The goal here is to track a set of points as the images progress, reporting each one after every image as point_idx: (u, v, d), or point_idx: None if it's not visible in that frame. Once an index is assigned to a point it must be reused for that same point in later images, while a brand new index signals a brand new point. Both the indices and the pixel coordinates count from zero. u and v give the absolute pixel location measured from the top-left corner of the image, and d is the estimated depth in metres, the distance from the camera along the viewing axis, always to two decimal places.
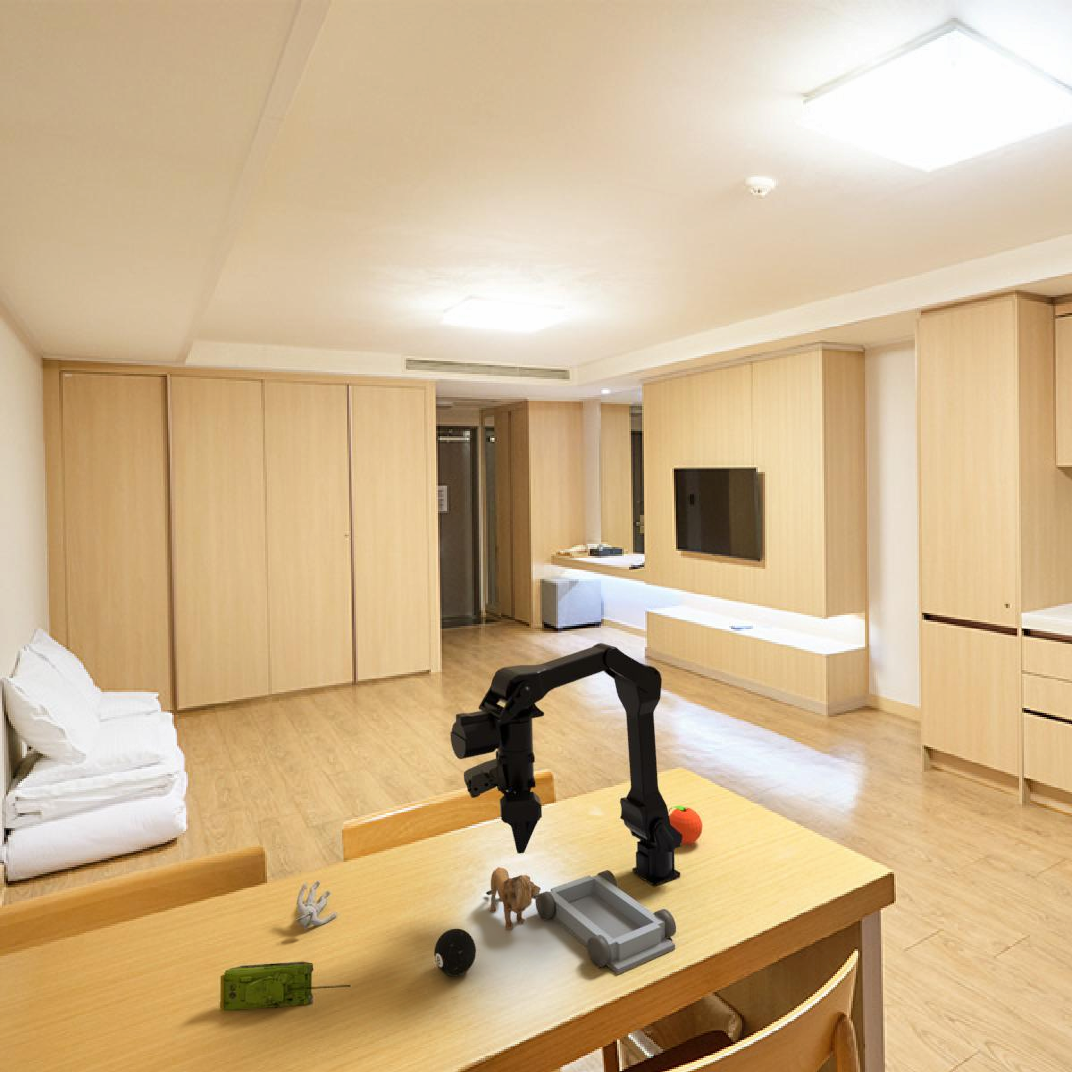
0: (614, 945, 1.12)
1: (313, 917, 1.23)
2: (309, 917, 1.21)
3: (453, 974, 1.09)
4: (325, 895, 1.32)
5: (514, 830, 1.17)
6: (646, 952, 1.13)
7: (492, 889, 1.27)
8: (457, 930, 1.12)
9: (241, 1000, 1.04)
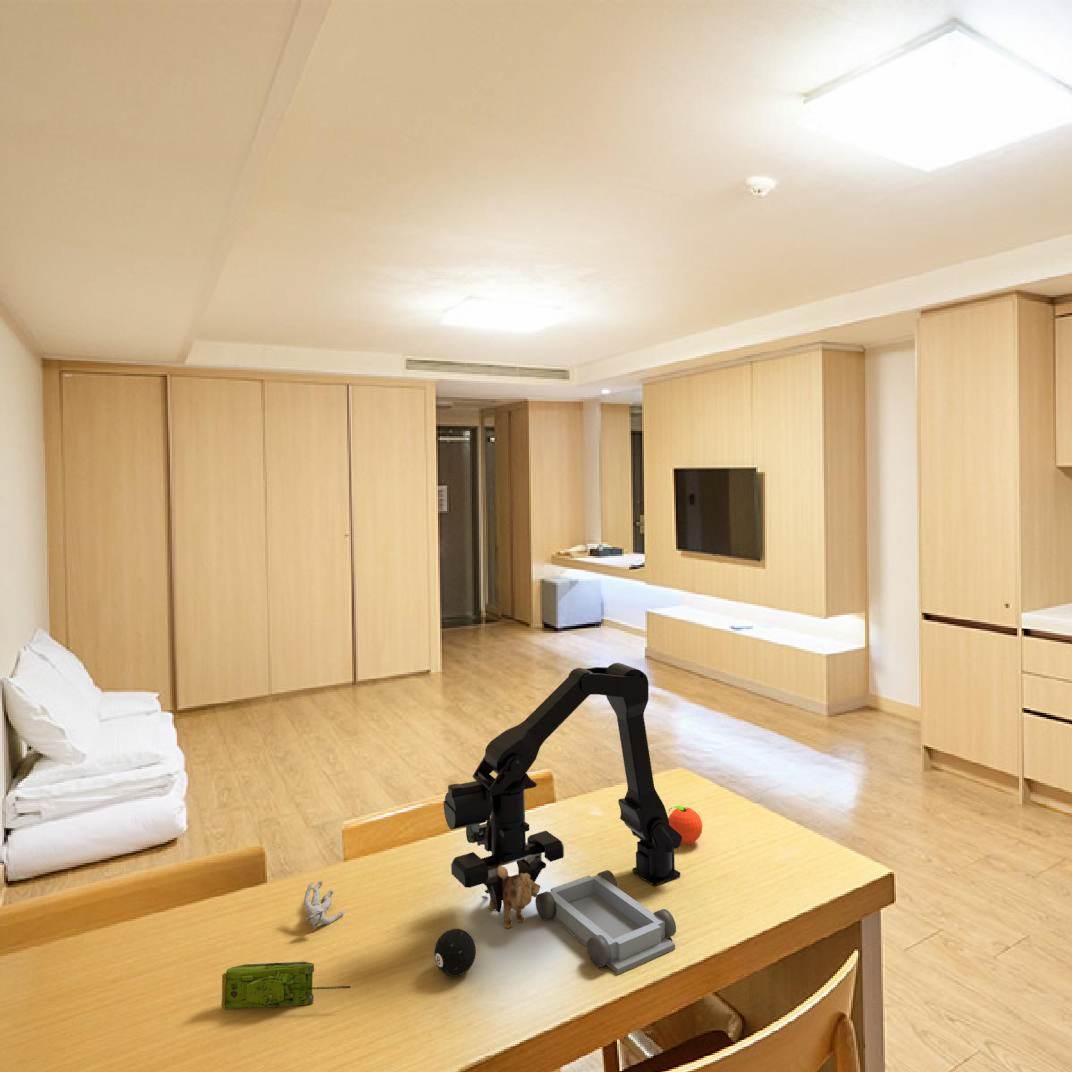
0: (614, 945, 1.12)
1: (321, 916, 1.23)
2: (319, 916, 1.21)
3: (453, 974, 1.09)
4: (328, 894, 1.32)
5: (486, 885, 1.24)
6: (646, 952, 1.13)
7: None
8: (457, 930, 1.12)
9: (242, 999, 1.04)
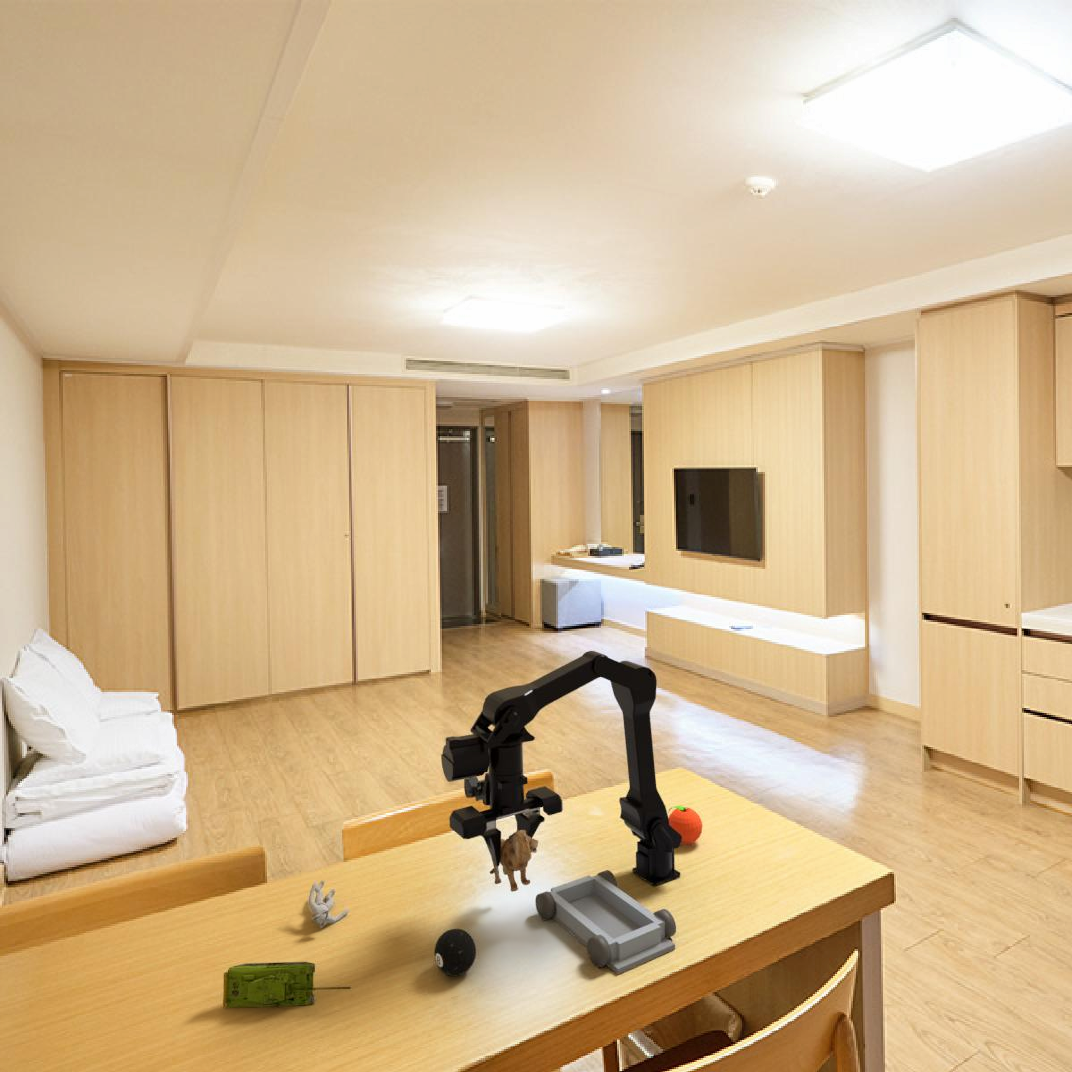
0: (614, 945, 1.12)
1: (327, 915, 1.23)
2: (325, 915, 1.22)
3: (453, 974, 1.09)
4: (330, 894, 1.33)
5: (484, 839, 1.23)
6: (646, 952, 1.13)
7: None
8: (457, 930, 1.12)
9: (243, 998, 1.04)
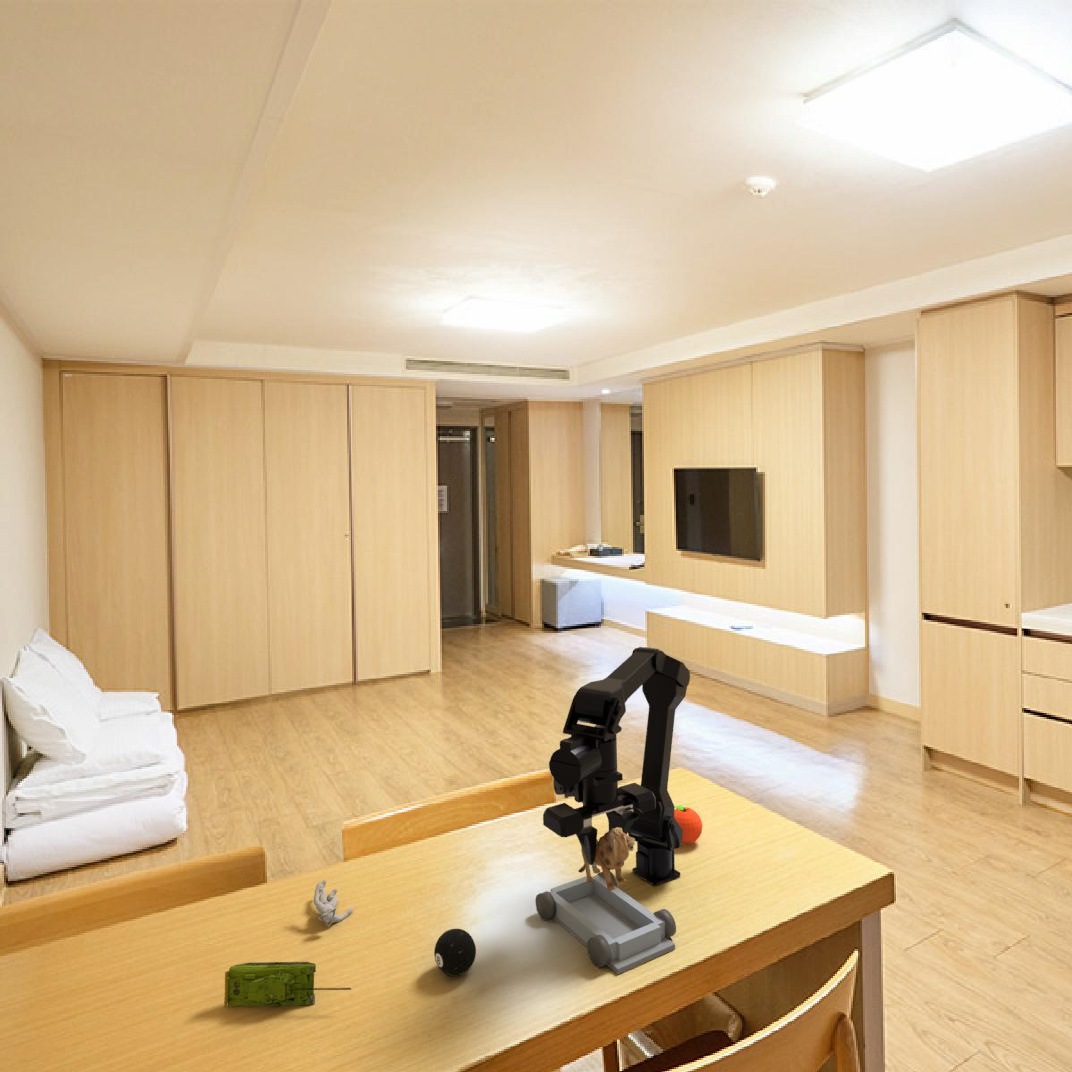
0: (614, 945, 1.12)
1: None
2: (332, 914, 1.22)
3: (453, 974, 1.09)
4: (333, 893, 1.33)
5: (578, 837, 1.20)
6: (646, 952, 1.13)
7: (585, 859, 1.23)
8: (457, 930, 1.12)
9: (245, 997, 1.04)
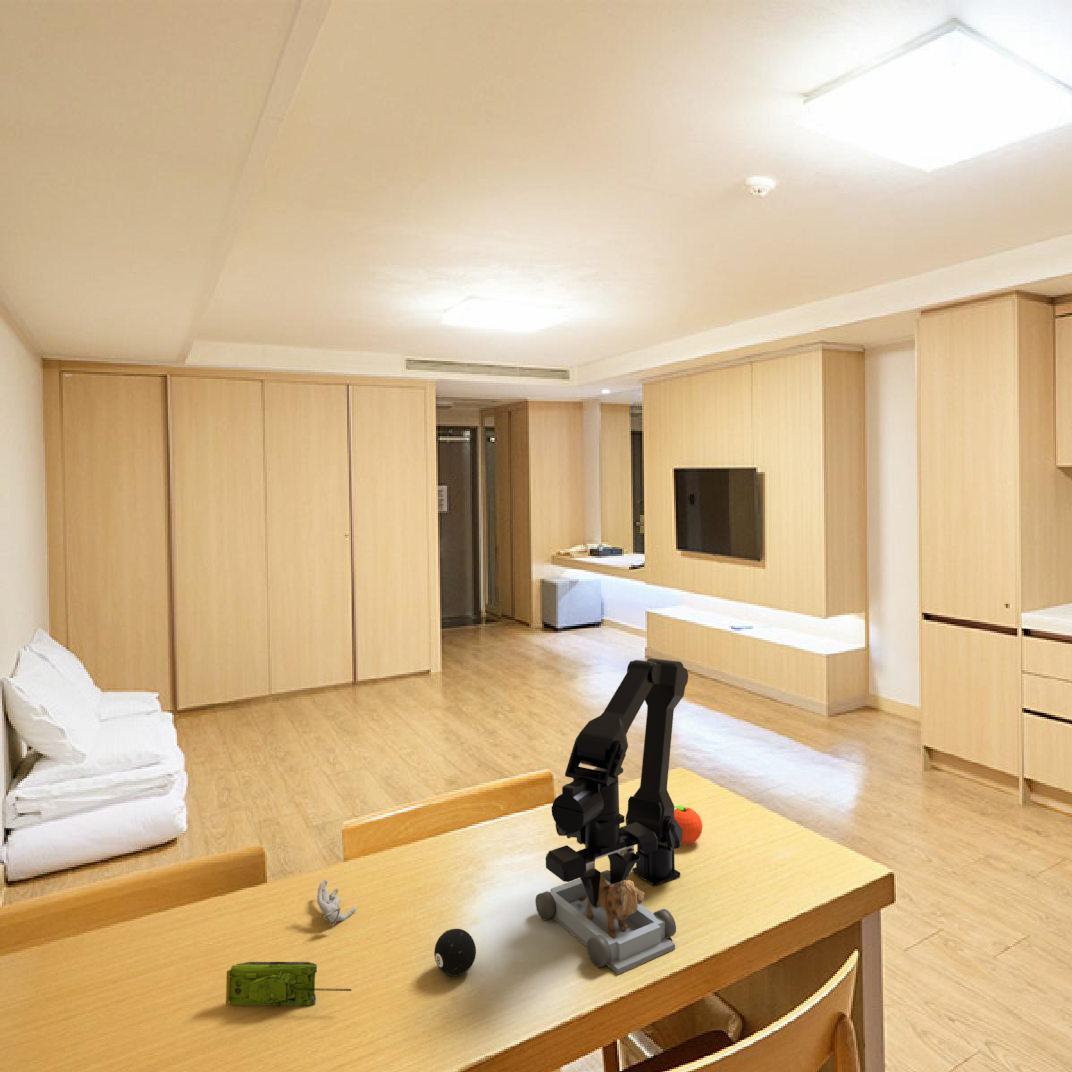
0: (614, 945, 1.12)
1: None
2: (336, 913, 1.22)
3: (453, 974, 1.09)
4: (334, 893, 1.33)
5: (581, 879, 1.20)
6: (646, 952, 1.13)
7: None
8: (457, 930, 1.12)
9: (246, 996, 1.05)
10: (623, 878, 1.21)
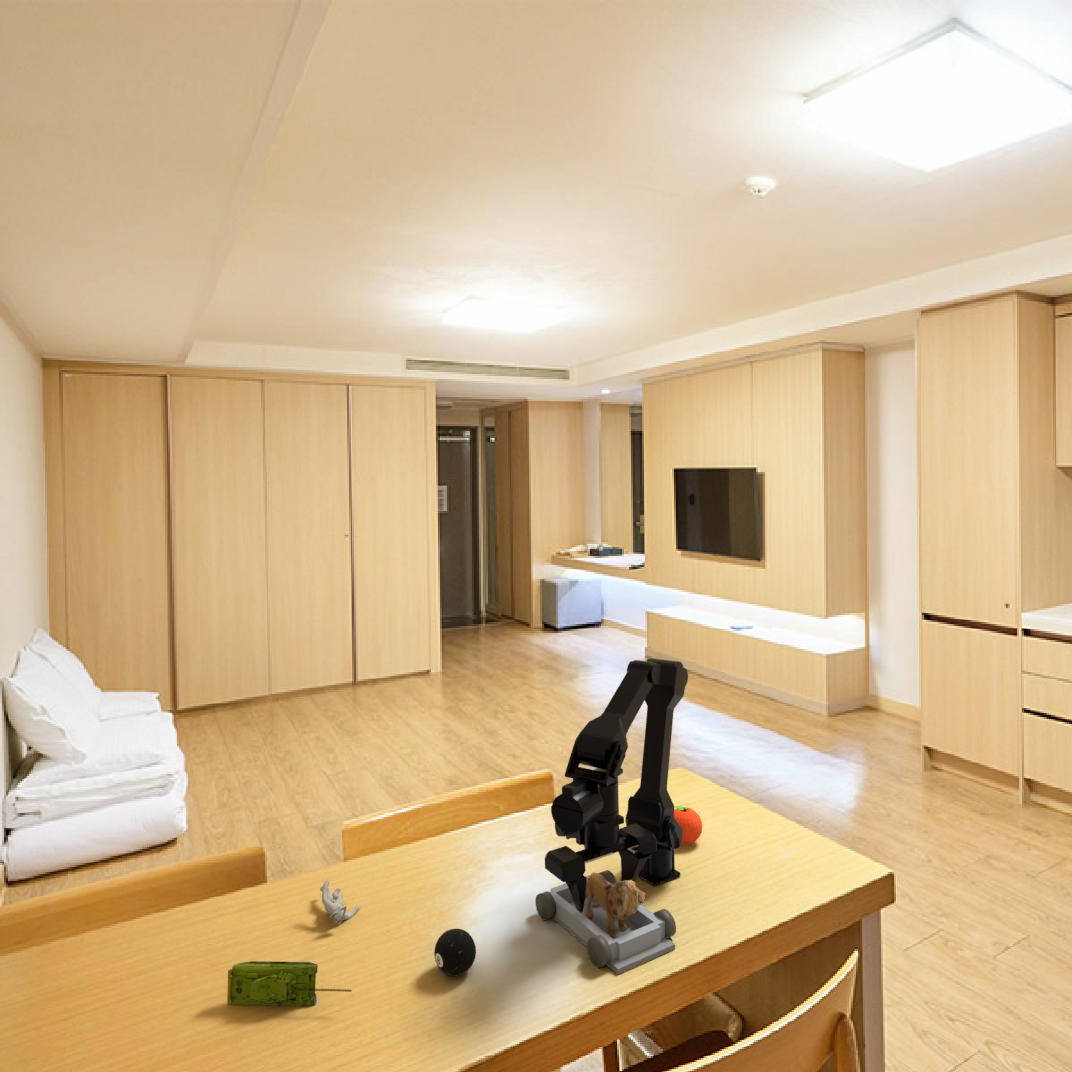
0: (614, 945, 1.12)
1: None
2: (343, 911, 1.23)
3: (453, 974, 1.09)
4: (336, 892, 1.33)
5: (567, 884, 1.19)
6: (646, 952, 1.13)
7: (589, 895, 1.23)
8: (457, 930, 1.12)
9: (247, 996, 1.05)
10: (634, 875, 1.22)
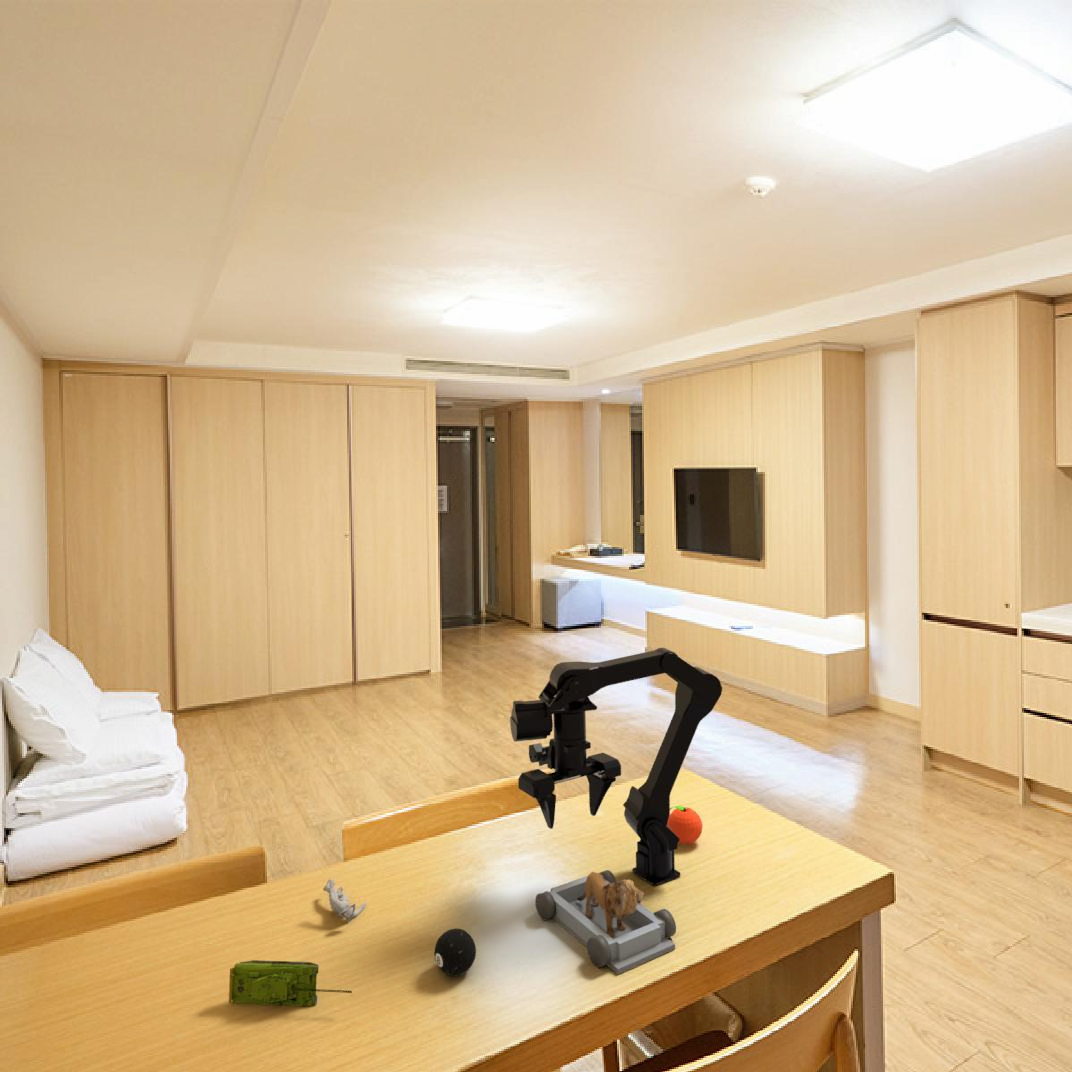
0: (614, 945, 1.12)
1: None
2: (352, 909, 1.23)
3: (453, 974, 1.09)
4: (339, 891, 1.33)
5: (539, 803, 1.31)
6: (646, 952, 1.13)
7: (588, 895, 1.23)
8: (457, 930, 1.12)
9: (248, 995, 1.05)
10: (600, 797, 1.34)
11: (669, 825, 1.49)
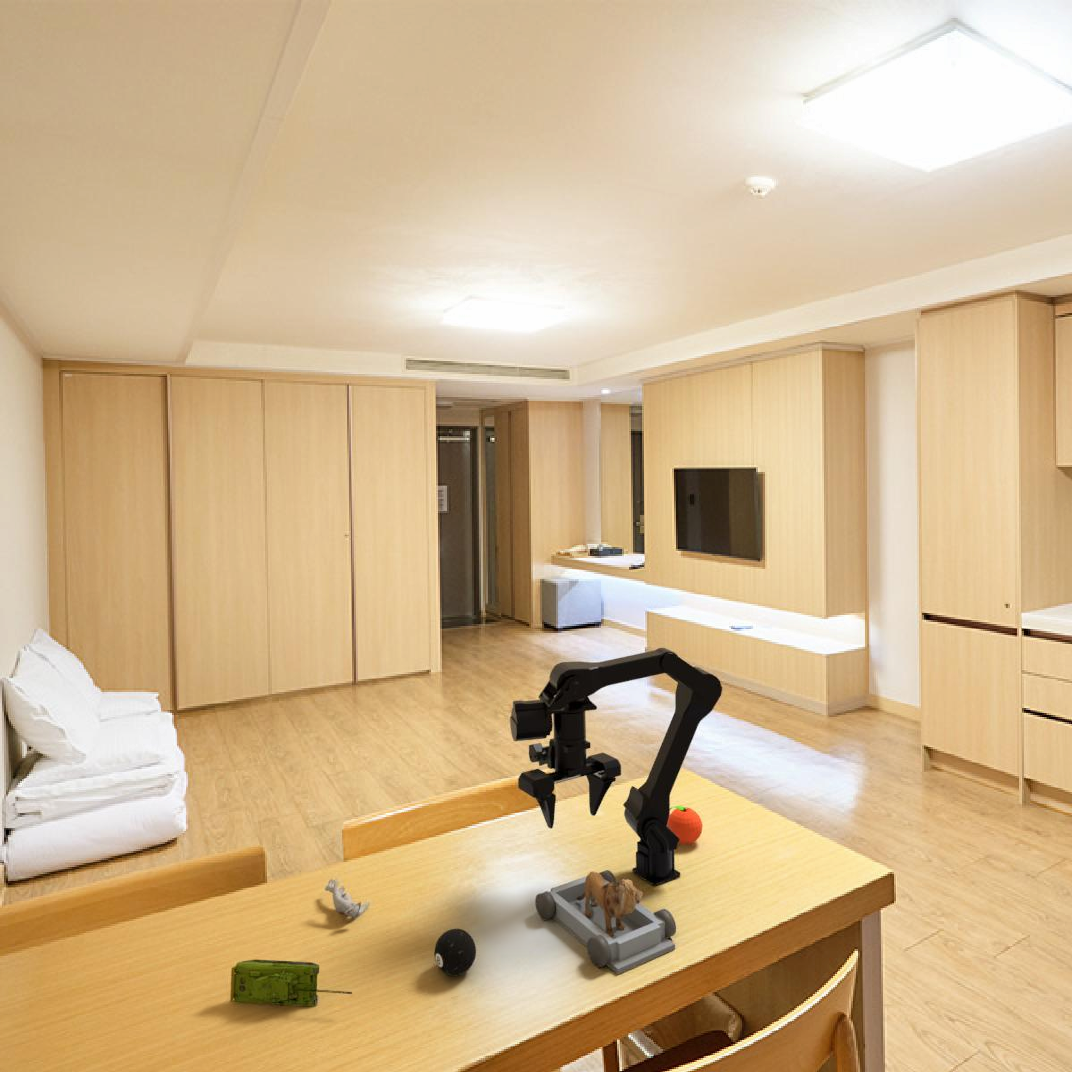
0: (614, 945, 1.12)
1: None
2: (358, 907, 1.24)
3: (453, 974, 1.09)
4: (341, 891, 1.34)
5: (539, 803, 1.31)
6: (646, 952, 1.13)
7: (587, 894, 1.23)
8: (457, 930, 1.12)
9: (250, 994, 1.05)
10: (600, 796, 1.35)
11: (669, 825, 1.49)
